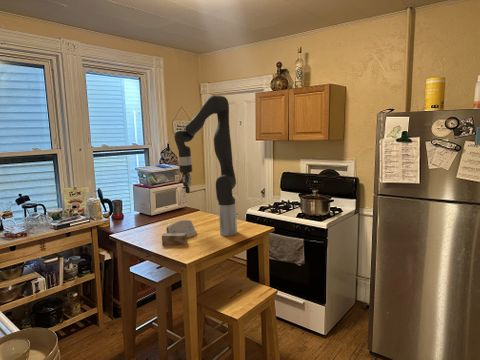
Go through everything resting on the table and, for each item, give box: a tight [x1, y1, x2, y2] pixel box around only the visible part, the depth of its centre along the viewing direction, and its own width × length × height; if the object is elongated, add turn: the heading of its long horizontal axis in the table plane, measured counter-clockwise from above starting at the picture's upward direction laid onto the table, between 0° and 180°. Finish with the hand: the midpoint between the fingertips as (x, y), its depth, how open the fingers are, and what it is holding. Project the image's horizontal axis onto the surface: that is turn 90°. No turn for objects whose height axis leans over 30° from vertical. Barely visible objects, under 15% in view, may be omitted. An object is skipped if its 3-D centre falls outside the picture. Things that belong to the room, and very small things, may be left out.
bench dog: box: [161, 232, 188, 246], centre depth 168 cm, size 12×4×5 cm, turn 84°
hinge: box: [165, 219, 198, 238], centre depth 179 cm, size 17×5×10 cm, turn 134°
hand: (187, 192), depth 195 cm, fingers closed
